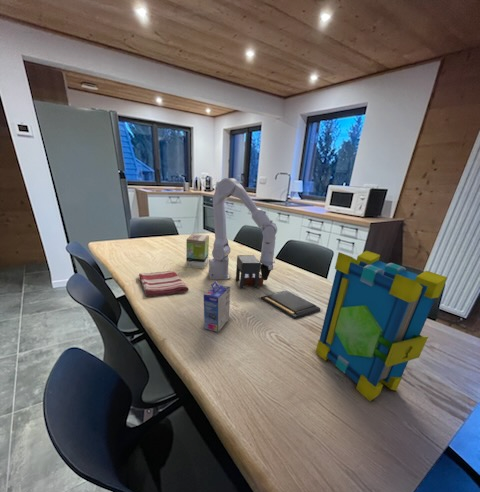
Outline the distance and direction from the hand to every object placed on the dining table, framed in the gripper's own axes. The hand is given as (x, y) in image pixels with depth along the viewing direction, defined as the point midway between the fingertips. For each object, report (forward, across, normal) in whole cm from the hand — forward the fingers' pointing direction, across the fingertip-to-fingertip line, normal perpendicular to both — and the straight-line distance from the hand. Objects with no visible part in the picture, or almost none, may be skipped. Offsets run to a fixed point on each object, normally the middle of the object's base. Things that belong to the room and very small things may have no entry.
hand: (264, 279), depth 124 cm
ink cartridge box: (+2, -36, +27) cm, 44 cm away
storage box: (+2, 0, +6) cm, 6 cm away
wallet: (+2, -22, -4) cm, 23 cm away
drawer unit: (+2, 0, +9) cm, 9 cm away
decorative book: (+2, -62, -7) cm, 63 cm away
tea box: (+2, +30, +30) cm, 42 cm away
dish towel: (+2, 0, +46) cm, 47 cm away
